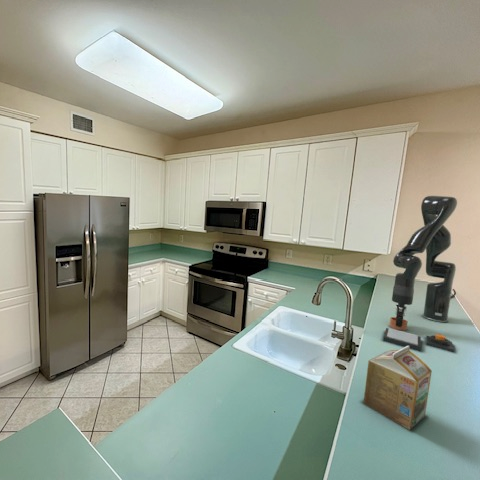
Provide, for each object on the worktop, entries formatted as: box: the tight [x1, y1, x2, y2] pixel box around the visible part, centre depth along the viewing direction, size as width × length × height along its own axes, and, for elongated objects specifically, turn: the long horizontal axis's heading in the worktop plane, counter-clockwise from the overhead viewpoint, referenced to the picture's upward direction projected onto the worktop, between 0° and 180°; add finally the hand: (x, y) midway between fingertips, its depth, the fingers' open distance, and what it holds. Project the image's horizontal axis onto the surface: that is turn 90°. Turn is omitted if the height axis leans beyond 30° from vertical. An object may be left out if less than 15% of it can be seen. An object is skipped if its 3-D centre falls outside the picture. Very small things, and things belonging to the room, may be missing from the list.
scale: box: [382, 327, 422, 352], centre depth 116 cm, size 14×12×3 cm
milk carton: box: [363, 346, 433, 431], centre depth 73 cm, size 11×10×19 cm
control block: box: [425, 335, 455, 353], centre depth 113 cm, size 10×8×3 cm
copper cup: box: [389, 316, 408, 332], centre depth 129 cm, size 6×6×5 cm
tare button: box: [434, 333, 447, 341], centre depth 112 cm, size 3×3×2 cm
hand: (398, 324), depth 128 cm, fingers open, 8 cm apart
